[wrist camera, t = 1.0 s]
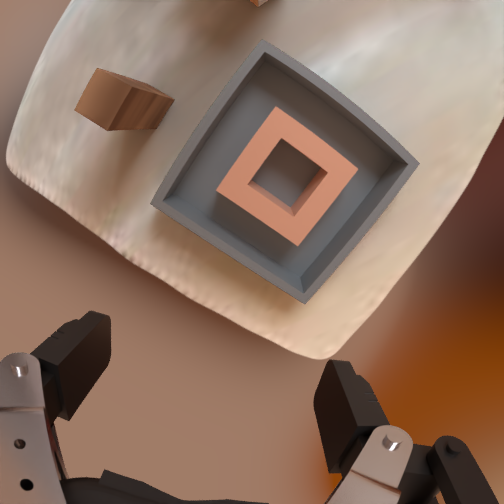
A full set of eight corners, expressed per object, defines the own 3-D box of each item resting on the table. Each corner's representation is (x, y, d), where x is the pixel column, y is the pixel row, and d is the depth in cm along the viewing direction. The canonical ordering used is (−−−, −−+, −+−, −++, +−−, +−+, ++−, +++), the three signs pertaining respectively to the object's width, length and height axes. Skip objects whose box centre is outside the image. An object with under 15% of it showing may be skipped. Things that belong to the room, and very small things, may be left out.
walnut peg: (130, 113, 31) (74, 110, 20) (147, 84, 30) (97, 68, 19) (156, 128, 32) (107, 130, 21) (174, 99, 31) (132, 86, 20)
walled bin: (164, 193, 35) (149, 203, 30) (262, 51, 28) (262, 38, 24) (300, 283, 39) (304, 304, 34) (400, 158, 32) (419, 163, 28)
